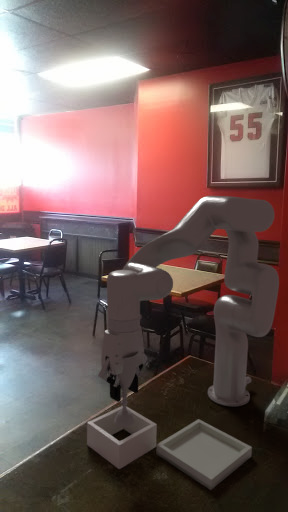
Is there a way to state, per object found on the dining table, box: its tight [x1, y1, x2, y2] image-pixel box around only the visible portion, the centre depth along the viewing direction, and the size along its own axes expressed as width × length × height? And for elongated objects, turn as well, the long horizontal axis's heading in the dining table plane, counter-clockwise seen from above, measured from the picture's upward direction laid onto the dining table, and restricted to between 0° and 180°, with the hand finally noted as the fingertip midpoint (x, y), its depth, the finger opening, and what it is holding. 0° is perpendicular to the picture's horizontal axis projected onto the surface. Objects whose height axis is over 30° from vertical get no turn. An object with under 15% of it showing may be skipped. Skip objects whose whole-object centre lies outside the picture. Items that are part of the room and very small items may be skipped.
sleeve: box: [86, 405, 158, 470], centre depth 100 cm, size 12×12×6 cm
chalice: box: [113, 353, 138, 427], centre depth 98 cm, size 7×7×18 cm
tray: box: [155, 418, 253, 491], centre depth 97 cm, size 16×16×2 cm
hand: (124, 394), depth 98 cm, fingers closed on chalice, 4 cm apart
